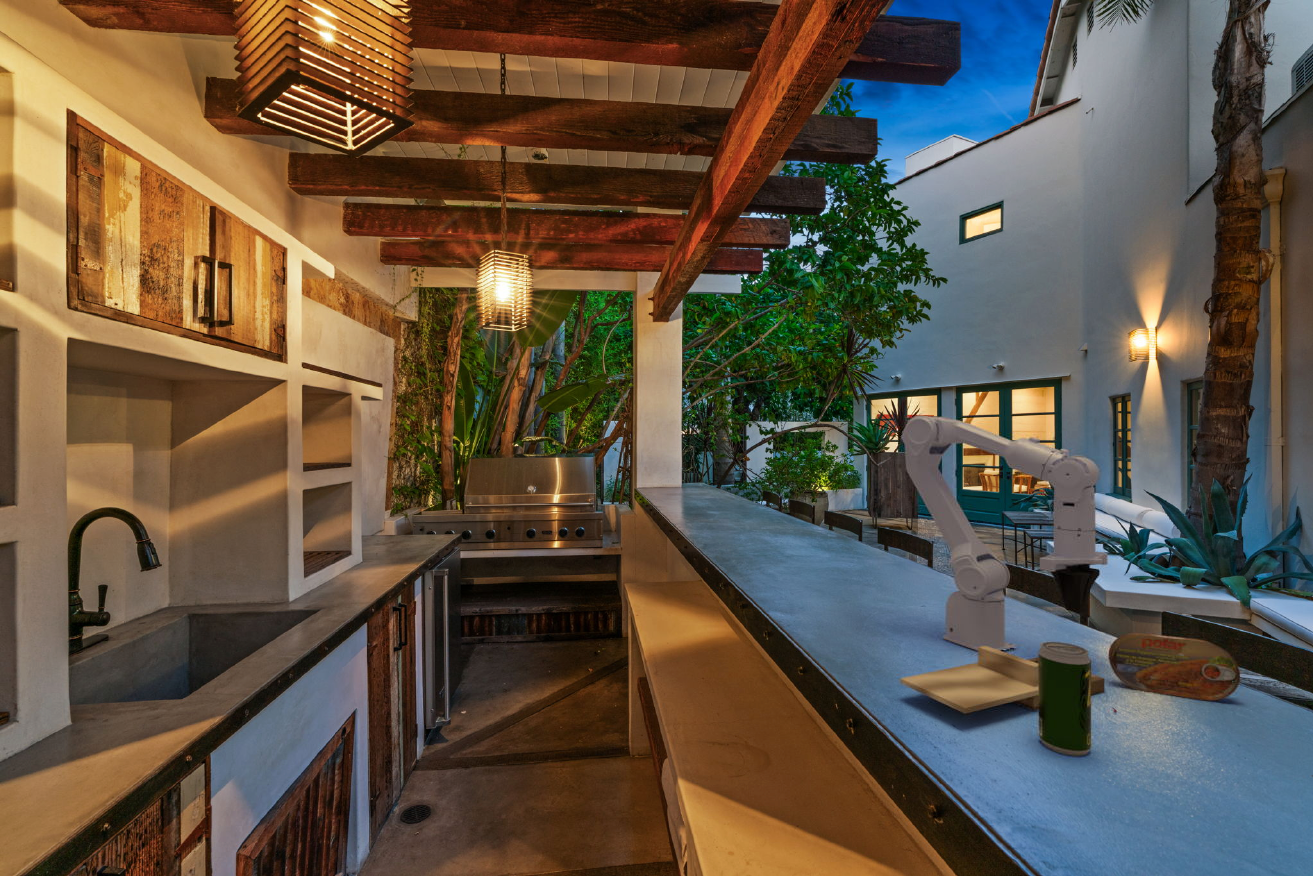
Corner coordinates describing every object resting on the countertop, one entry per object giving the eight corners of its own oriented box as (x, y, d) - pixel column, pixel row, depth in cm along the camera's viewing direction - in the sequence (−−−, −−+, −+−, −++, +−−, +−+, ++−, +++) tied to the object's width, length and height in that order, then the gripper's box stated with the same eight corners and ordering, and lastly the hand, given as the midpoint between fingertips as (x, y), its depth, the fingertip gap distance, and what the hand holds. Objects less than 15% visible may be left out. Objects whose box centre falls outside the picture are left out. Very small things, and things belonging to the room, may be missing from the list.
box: (970, 684, 94) (970, 671, 94) (1039, 669, 100) (1038, 657, 100) (1033, 710, 84) (1033, 696, 84) (1104, 691, 91) (1104, 678, 91)
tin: (1110, 686, 93) (1110, 631, 93) (1106, 679, 96) (1106, 626, 96) (1241, 706, 86) (1241, 647, 86) (1233, 698, 89) (1232, 640, 89)
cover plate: (900, 683, 88) (900, 659, 88) (981, 666, 95) (981, 643, 95) (964, 713, 78) (964, 686, 79) (1049, 692, 85) (1049, 667, 85)
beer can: (1046, 753, 73) (1045, 653, 73) (1033, 733, 78) (1032, 639, 78) (1098, 760, 71) (1098, 658, 71) (1081, 739, 76) (1081, 643, 77)
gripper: (1071, 534, 94) (1071, 622, 94) (1127, 529, 100) (1127, 612, 100) (1027, 528, 101) (1027, 611, 101) (1082, 524, 107) (1082, 601, 106)
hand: (1074, 611), depth 101 cm, fingers closed
